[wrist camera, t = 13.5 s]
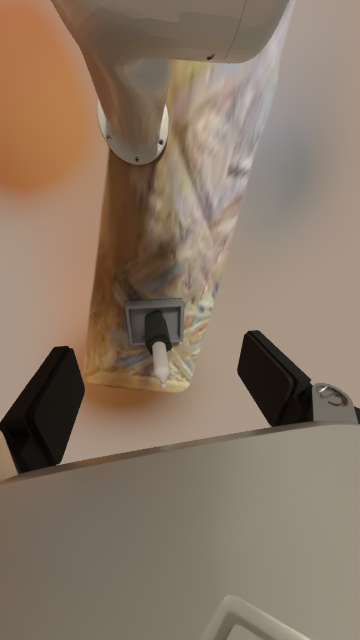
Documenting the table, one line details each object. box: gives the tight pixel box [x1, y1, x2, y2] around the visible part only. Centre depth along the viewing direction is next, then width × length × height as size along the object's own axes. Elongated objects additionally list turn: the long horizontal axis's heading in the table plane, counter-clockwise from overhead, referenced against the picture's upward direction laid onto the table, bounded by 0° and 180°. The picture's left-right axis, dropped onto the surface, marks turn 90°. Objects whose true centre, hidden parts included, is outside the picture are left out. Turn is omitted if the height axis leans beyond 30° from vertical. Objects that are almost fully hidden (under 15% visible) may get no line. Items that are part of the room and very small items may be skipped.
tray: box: [125, 298, 184, 346], centre depth 52 cm, size 12×15×4 cm
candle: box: [145, 310, 172, 388], centre depth 42 cm, size 5×5×25 cm
